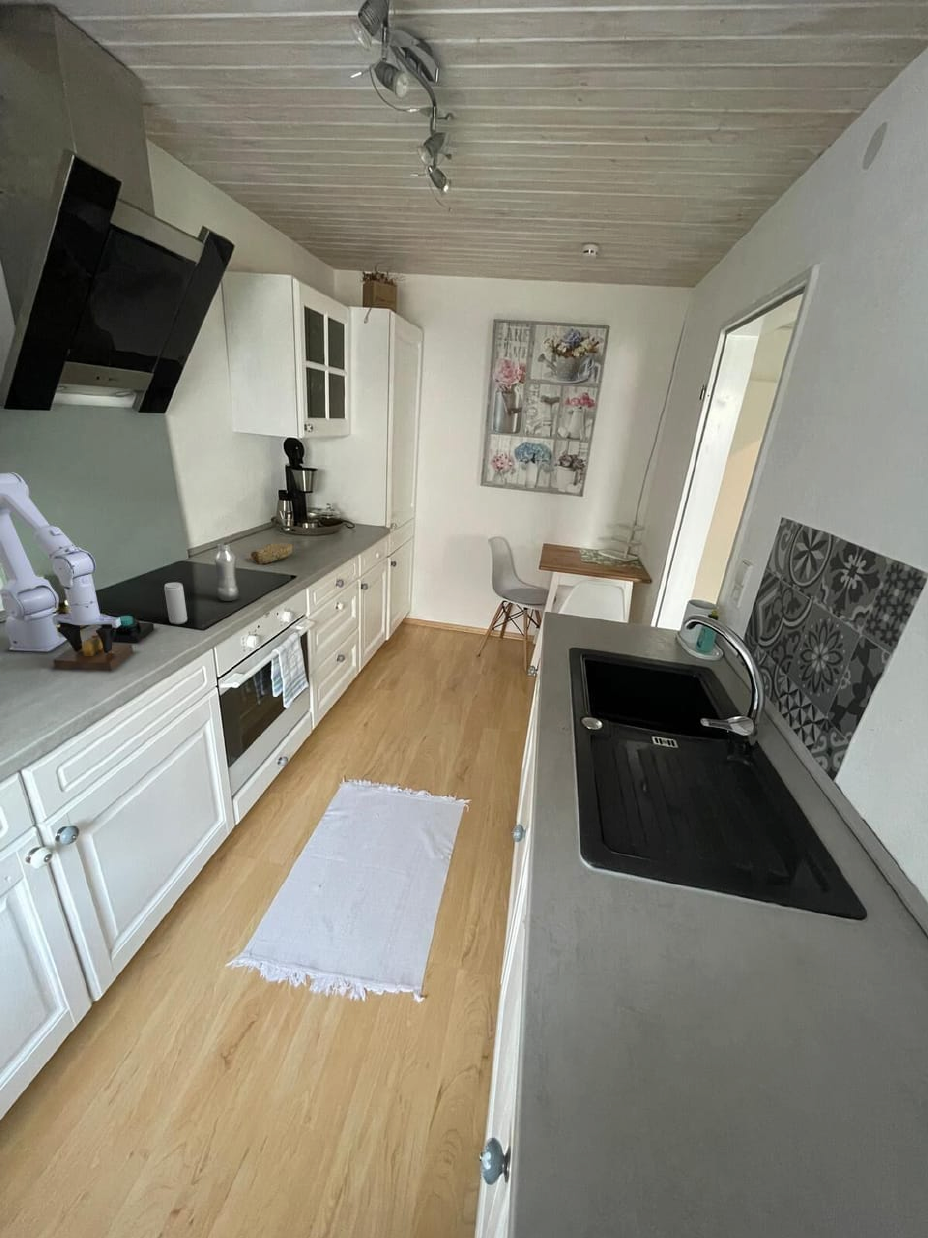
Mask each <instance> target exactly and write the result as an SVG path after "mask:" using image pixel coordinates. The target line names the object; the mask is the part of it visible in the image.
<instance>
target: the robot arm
mask: <svg viewBox="0 0 928 1238" xmlns="http://www.w3.org/2000/svg"><path fill="white" fill-rule="evenodd" d="M10 513H12V514H13V515H14V516H15V517H16V518H17V519H18V520H19V521H20V522H21V523H22V524H24V525H25V526H26V527H27V528H28V529H29V530H30V531H31V532H32V533H33V537H32V541H34V543H35V544H36V545H37V546H38V547H39V549H40V550H41V551H42V552H43V553H44V554H45V556H47V557H48V558H49V560H51V562H52V565H51V566H52V570H53V572H54V574H55V576H56V577H57V578H58V581H59V584H60V585H61V586H62V587H63V589H64V593H65V597H66V601H67V606H68V610H69V613H65V614H61V613H60V614H55V615H54V612H56V608H57V607H58V606H59V601H60V598H59V594H58V593H57V591H56V590H55V589H54V588H53V586H52V585H51V582H50V581H49V580H48V579H46V578H43V577H39V576H37V575H36V574H35V572H34V569H33V566H32V564H31V562H30V560H29V558H28V556H27V553H26V551H25V549H24V547H23V545H22V542H21V540H20V537H19V535H18V532H17V530H16V528H15V526H14V524H13V521H12V519H11V516H10ZM0 563H1V565H2V568H3V570H4V572H5V574H6V577H7V579H8V581H7V582H6V583H5V584H4V585H3V586H2V588H0V598H1V605H2V608H3V610H4V612H5V613H6V614H7V615H8V617H7V618H6V619H5V631H6V633H7V637H8V639H9V643H10V647H9V651H21V652H22V651H23V652H40V653H41V652H44V653H48V652H51V651H52V650H54V649H56V648H57V647H59V646H60V645H62V644H63V643H65V642H68V643H69V644H70V646H71V647H73V649H74V651H76V652H78V651H79V650H81V649H82V642H83V640H82V637H81V636H82V635H81V626H99V628H97V629H95V633H96V635H98V636H99V637H100V640H101V642H102V646H103V650H104V652H105V653H108V652H110V651H111V650H112V644H114V642H113V638H114V634H115V632H116V629H117V627H118V626H120V625H121V622H120V618H119V617H114V616H111V615H107V614H102V613H101V612H100V607H99V603H98V598H97V593H96V590H95V584H94V579H93V574H94V573H95V572H96V570H97V564H96V560H95V558H94V557H93V556H92V554H91V553H90V552H89V551H87V550H84V549H82V548H81V547H79V546H78V547H77V546H76V545H75V544H74V543H73V542H72V540H70V539H69V537H68V536H67V535H66V534H65V533H64V531H62V530H61V529H60V527H57V526H54V525H50V524H49V523H48V521H47V520H46V518H45V517H44V516H43V514H42V513H41V511H40V510H39V508H38V507H37V506H36V505H35V503H34V502H33V501H32V500H31V498H30V490H29V486H28V484H27V483H26V482H25V480H24V478H23V477H22V476H21V475H19V474H18V473H16V472H12V471H8V472H5V473H4V472H3V473H0ZM58 625H59V627H58ZM59 634H60V635H61V636H59Z"/></svg>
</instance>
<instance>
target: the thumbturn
mask: <svg viewBox="0 0 928 1238" xmlns="http://www.w3.org/2000/svg"><path fill="white" fill-rule="evenodd" d="M82 642H83V643H82V648H83V652H84V656H92V655H94V654H95V653H96V652H98V651H99V650H100V649H102V648H103V646H102V642H101V640H100V637H99V636H98V634H92V635H91V636H90V637H89V638H87V639H86V640H85V641H82Z"/></svg>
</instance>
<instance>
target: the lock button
mask: <svg viewBox="0 0 928 1238" xmlns="http://www.w3.org/2000/svg"><path fill="white" fill-rule="evenodd" d="M118 618H120V622H121V625H120V626H126V625H131V624H133V619H132V618H133V616H131V615H122V616H118Z"/></svg>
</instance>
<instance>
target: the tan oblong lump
mask: <svg viewBox="0 0 928 1238" xmlns="http://www.w3.org/2000/svg"><path fill="white" fill-rule="evenodd" d="M293 551H294V548H293V545H292V544H291V543H288V542H287V543H285V542H274V543H269V544H266V545H264V546H263V547H260V548H259V549H257V550H253V551H251V552H250V557H251V558H252V560H254V561H256V562H258V563H259V565H264V564H268V563H272V562H276V561H280V560H284V559H286V558H287V557H289V556H290V555H291V554H292V553H293Z"/></svg>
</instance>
